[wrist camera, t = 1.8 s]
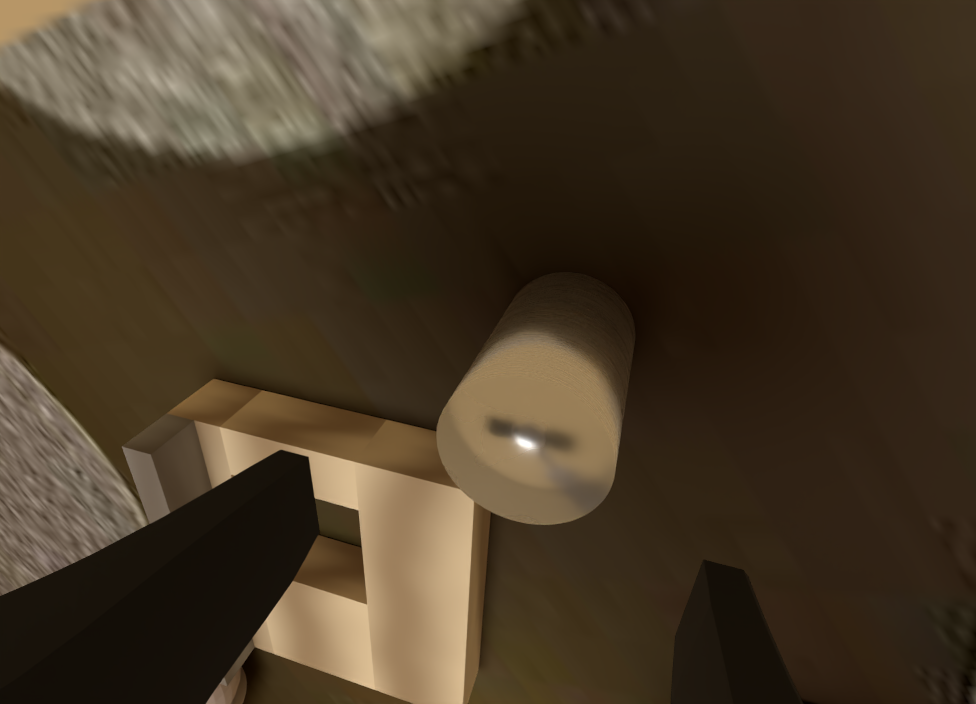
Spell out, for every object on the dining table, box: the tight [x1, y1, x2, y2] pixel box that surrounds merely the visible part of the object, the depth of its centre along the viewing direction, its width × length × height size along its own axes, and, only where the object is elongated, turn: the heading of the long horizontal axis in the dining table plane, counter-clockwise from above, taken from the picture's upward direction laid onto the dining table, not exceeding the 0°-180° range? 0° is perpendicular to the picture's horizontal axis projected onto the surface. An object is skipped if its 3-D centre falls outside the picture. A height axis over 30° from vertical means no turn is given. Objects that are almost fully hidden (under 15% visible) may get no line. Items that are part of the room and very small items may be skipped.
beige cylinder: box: [436, 272, 635, 525], centre depth 15 cm, size 4×4×6 cm
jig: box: [122, 379, 491, 704], centre depth 23 cm, size 12×14×4 cm
